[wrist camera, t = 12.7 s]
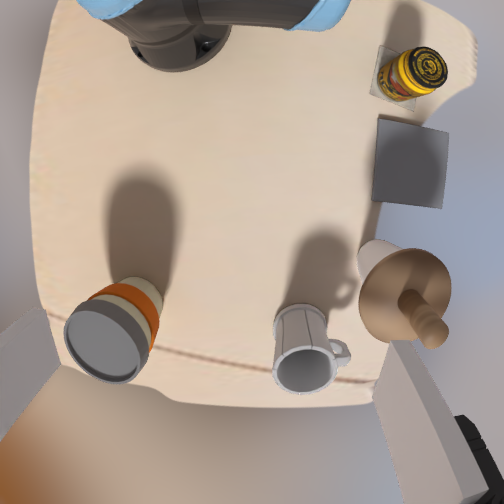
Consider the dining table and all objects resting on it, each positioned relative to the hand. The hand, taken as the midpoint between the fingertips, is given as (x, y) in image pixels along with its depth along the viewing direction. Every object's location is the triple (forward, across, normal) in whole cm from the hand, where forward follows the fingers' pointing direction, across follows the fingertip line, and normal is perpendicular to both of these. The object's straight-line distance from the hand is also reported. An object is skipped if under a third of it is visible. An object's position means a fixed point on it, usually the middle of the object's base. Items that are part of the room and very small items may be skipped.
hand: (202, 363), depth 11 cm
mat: (+37, +23, +7) cm, 44 cm away
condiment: (+37, +20, +20) cm, 47 cm away
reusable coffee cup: (+37, -19, -18) cm, 45 cm away
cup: (+37, +9, -20) cm, 43 cm away
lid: (+24, +19, -8) cm, 31 cm away
